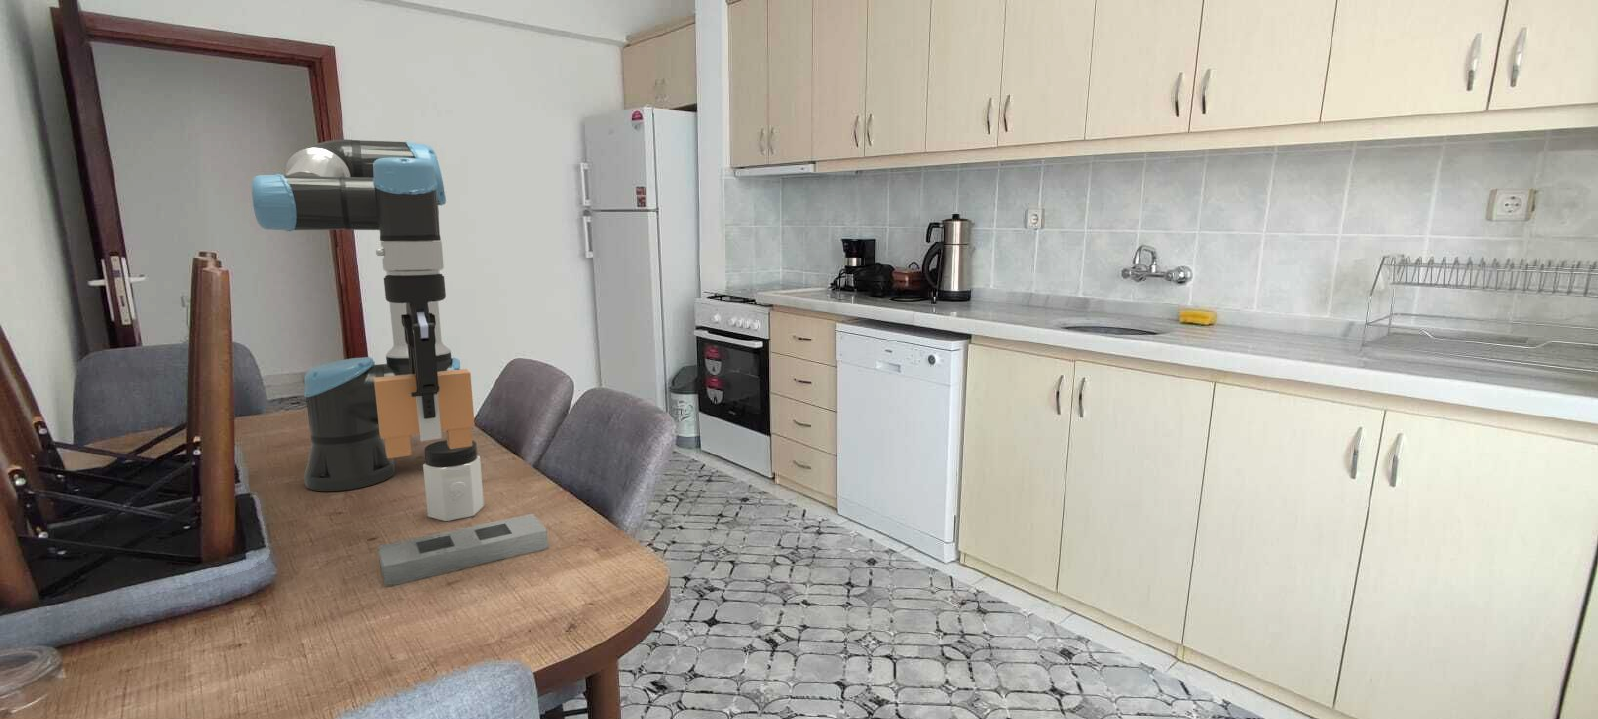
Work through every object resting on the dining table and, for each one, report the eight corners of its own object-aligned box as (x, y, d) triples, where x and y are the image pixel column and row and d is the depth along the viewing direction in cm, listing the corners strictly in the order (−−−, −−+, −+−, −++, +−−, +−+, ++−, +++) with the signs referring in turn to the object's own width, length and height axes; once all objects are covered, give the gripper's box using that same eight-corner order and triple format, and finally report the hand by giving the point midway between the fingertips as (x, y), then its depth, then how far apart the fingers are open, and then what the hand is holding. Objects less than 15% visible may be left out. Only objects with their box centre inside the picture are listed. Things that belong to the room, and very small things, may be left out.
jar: (431, 525, 122) (424, 456, 120) (424, 509, 129) (418, 443, 126) (488, 513, 127) (483, 447, 125) (479, 499, 133) (474, 435, 131)
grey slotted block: (380, 565, 107) (377, 546, 107) (534, 530, 120) (533, 513, 119) (385, 587, 101) (383, 566, 100) (548, 548, 113) (546, 530, 113)
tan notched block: (381, 453, 105) (373, 377, 103) (472, 440, 111) (466, 368, 109) (383, 459, 102) (375, 381, 100) (476, 445, 108) (470, 372, 106)
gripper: (379, 271, 107) (394, 427, 111) (387, 276, 93) (405, 454, 97) (436, 269, 111) (449, 420, 115) (452, 274, 97) (466, 445, 101)
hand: (429, 435), depth 106 cm, fingers closed on tan notched block, 3 cm apart
